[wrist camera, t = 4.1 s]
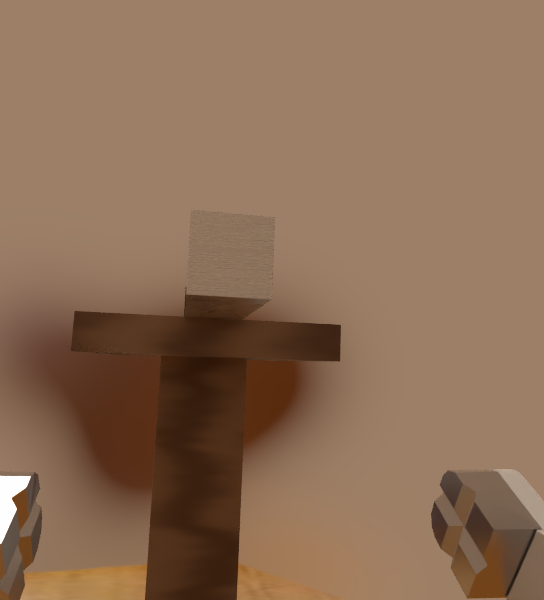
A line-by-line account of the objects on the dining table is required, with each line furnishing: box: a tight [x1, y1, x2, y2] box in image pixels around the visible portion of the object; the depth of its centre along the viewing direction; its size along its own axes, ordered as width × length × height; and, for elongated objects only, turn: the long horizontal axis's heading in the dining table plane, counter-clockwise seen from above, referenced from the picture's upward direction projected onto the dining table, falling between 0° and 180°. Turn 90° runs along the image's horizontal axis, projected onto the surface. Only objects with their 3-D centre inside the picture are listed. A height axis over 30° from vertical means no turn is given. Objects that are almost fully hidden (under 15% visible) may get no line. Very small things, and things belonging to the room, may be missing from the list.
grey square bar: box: [184, 210, 275, 320], centre depth 28 cm, size 3×22×3 cm, turn 10°
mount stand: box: [71, 311, 341, 600], centre depth 32 cm, size 18×16×26 cm
